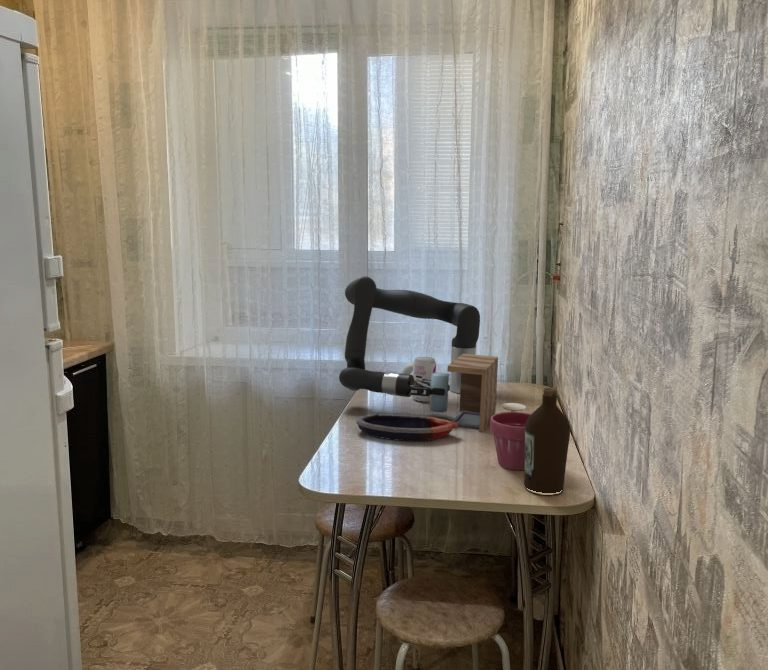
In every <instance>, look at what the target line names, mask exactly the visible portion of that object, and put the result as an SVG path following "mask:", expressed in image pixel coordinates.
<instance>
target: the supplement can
mask: <svg viewBox="0 0 768 670" xmlns="http://www.w3.org/2000/svg"><path fill="white" fill-rule="evenodd" d="M412 363H413V372H412V375H413V377H414V380H415V381H418V380H422V379H427V380H431V378H432V373H437V361H436V359H435V358H434V357H431V356H430V357H429V356H417V357H415V358H414V361H413V362H412ZM411 397H412V399H413V400H414V399H415V400H414V401H416V400H417V401H416V402H419V401H423V402H422V403H428V401H430V399H431V395H430V396H417V395H411Z"/></svg>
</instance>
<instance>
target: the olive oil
mask: <svg viewBox="0 0 768 670" xmlns="http://www.w3.org/2000/svg"><path fill="white" fill-rule="evenodd" d="M542 392H543V394H542V403H541V405H540V406H538V407H537V408H536V409H534V411H533V412H532V413H530V414H531V415H530V416H529V417H528V419H527V422H526V425H525V470H524V476H523V477H524V478H523V479H524V480H523V481H524V483H523V486H524V485H525V487H526V488H528V489H530V490H533V491H536V492H542V493H556V492H560V491H561V490H563V491H564V489H565V488H564V486H565V479H566V478H565V476H566V470H567V469H566V468H567V467H566V466H567V461H568V460H567V459H568V452H569V444H570V437H571V425H570V422H569V419H568V418H567V416H566V415H565V414H564V413H563V412H562V411H561V409H560V408H559V407H558V405H557V401H558V395H557V394H558V390H557V389H555V388H550V387H546V388H543V391H542ZM525 487H524V488H525Z"/></svg>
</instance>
